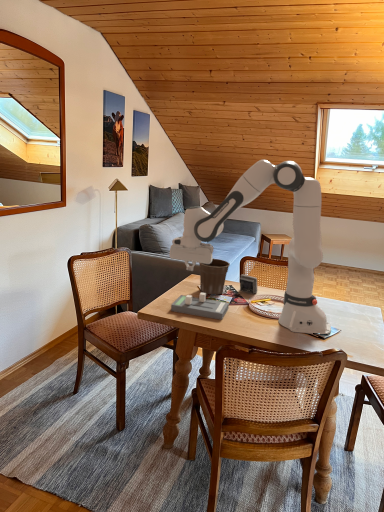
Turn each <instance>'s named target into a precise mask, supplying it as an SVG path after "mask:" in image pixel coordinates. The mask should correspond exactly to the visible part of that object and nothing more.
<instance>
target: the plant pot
mask: <svg viewBox="0 0 384 512" xmlns="http://www.w3.org/2000/svg"><path fill="white" fill-rule="evenodd" d="M198 264H199V274H200V276H199V282H200V284H199V285H200V287H199V288H200V289H199V290H200V293H201V292H202V293H206V295H208V294H216V295H215V296H218V295H222V294H223V293H224V287H225V282H226V279H227V273H228V272H229V267H230V262H228V261H226V260H223V259H218V258H212V262H211V263H210V264H204V263H198Z"/></svg>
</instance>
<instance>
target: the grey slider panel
mask: <svg viewBox="0 0 384 512" xmlns="http://www.w3.org/2000/svg"><path fill="white" fill-rule="evenodd" d="M186 296H187V295H183V294H180V296H178V297H177V299H175V300H174V301H173V302H172V303H171V305H170V307H171V308H170V312H176V313H181V314H188V315H193V316H196V317H197V316H198V317H204V318H209V319H215V320H220V321H222V320H223V319H224V317H225V315H226V313H227V312H228V310H229V306H230V305H229V304H230V303H229V302H224V301H221V300H220V301H219V300H213V299H209V298H206V300H205V302H200V301H199V297H195V296H192V303H191V304H190V305H188V304H185V299H186Z"/></svg>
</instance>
